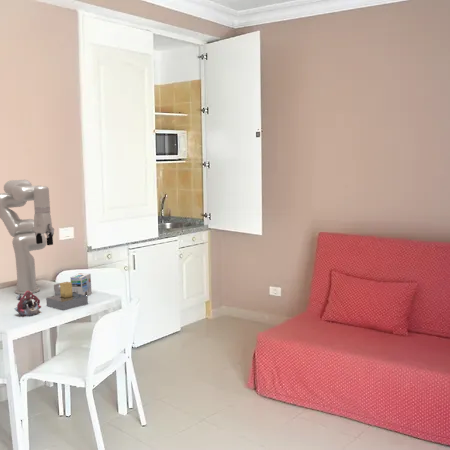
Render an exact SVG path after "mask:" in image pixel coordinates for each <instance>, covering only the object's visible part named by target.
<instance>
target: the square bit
mask: <svg viewBox="0 0 450 450" xmlns="http://www.w3.org/2000/svg"><path fill="white" fill-rule="evenodd" d="M59 283H60V293H61V298H64V299H67V298H71V297H73V296H72V283H71V281H63V282H59Z"/></svg>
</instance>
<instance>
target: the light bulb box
mask: <svg viewBox="0 0 450 450" xmlns="http://www.w3.org/2000/svg"><path fill="white" fill-rule="evenodd" d="M91 275H92V274H91V273H78V274H75V275H73V276H70V279H69V280H70V282H71V283H72V293H77V294H81V295H87V296H89V295H91V294H92V292H93V291H92V277H91ZM90 293H91V294H90ZM88 294H89V295H88Z"/></svg>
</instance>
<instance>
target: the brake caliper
mask: <svg viewBox="0 0 450 450" xmlns="http://www.w3.org/2000/svg"><path fill="white" fill-rule="evenodd" d="M27 293H28V294H27ZM16 300H17V301H18V303H17V305H16V307H15V308H13V309H14V311H16V313H18V315H20V316H21V317H22V316H23V317H24V316H25V317H32V316H34V315H38V314H41V313H42V311H40V309H42V305H40V302H41V301H40V299H39V297H37V296H36V295H35V294H34V293H31V292H30V291H26V292H25V294H17V296H16Z"/></svg>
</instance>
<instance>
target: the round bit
mask: <svg viewBox="0 0 450 450" xmlns="http://www.w3.org/2000/svg"><path fill="white" fill-rule="evenodd" d="M60 283H61V282H59V283H55V284H54V285H53V289H54V291H53V292H54V296H57V295H61V293H60Z"/></svg>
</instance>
